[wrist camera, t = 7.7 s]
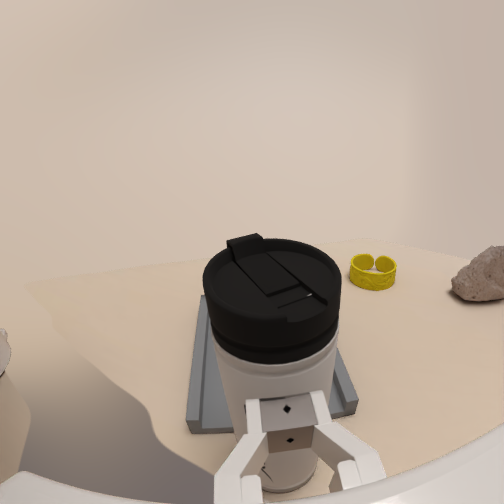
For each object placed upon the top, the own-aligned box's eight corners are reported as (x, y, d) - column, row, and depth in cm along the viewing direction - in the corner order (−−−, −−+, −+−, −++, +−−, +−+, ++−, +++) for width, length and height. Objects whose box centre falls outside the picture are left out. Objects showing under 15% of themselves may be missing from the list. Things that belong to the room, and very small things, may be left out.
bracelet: (394, 293, 44) (397, 275, 42) (347, 289, 47) (348, 271, 45) (393, 272, 50) (395, 255, 49) (351, 268, 53) (352, 251, 52)
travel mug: (292, 424, 25) (290, 222, 17) (329, 472, 20) (374, 267, 12) (232, 449, 23) (182, 249, 15) (264, 504, 18) (230, 320, 9)
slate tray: (191, 433, 25) (185, 420, 24) (203, 309, 45) (201, 295, 44) (354, 413, 25) (358, 399, 24) (308, 297, 45) (309, 283, 44)
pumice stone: (503, 281, 41) (516, 231, 37) (522, 302, 34) (539, 249, 30) (442, 284, 44) (452, 230, 40) (458, 310, 37) (473, 250, 33)
